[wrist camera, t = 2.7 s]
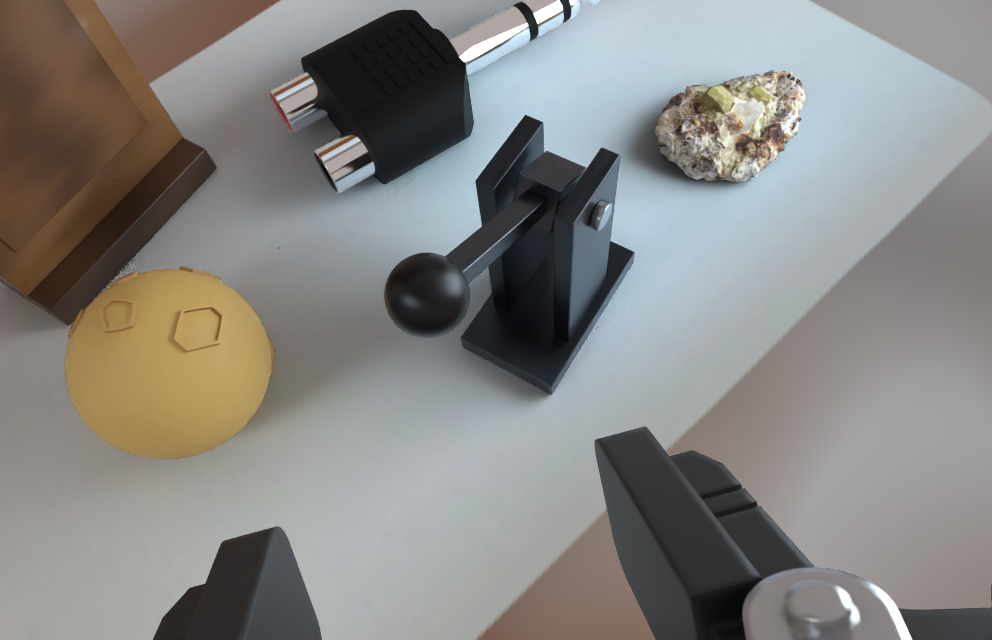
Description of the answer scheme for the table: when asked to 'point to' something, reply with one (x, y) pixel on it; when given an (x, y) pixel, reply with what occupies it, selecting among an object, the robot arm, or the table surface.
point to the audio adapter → (403, 87)
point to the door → (80, 155)
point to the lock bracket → (547, 267)
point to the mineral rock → (731, 125)
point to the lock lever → (476, 252)
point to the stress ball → (168, 363)
